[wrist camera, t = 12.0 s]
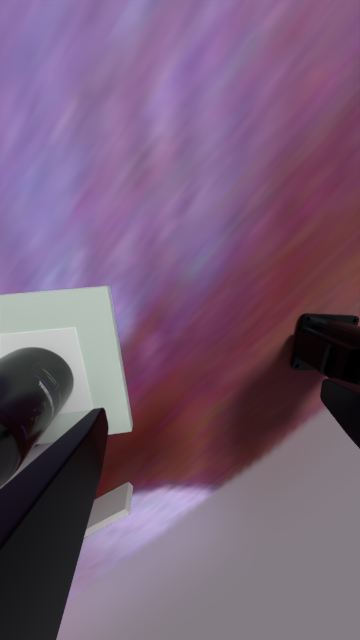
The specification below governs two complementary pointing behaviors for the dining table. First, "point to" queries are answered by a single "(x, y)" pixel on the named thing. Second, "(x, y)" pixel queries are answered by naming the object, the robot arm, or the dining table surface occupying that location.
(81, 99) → the dining table surface
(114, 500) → the holster
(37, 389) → the supplement bottle
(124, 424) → the docking plate
